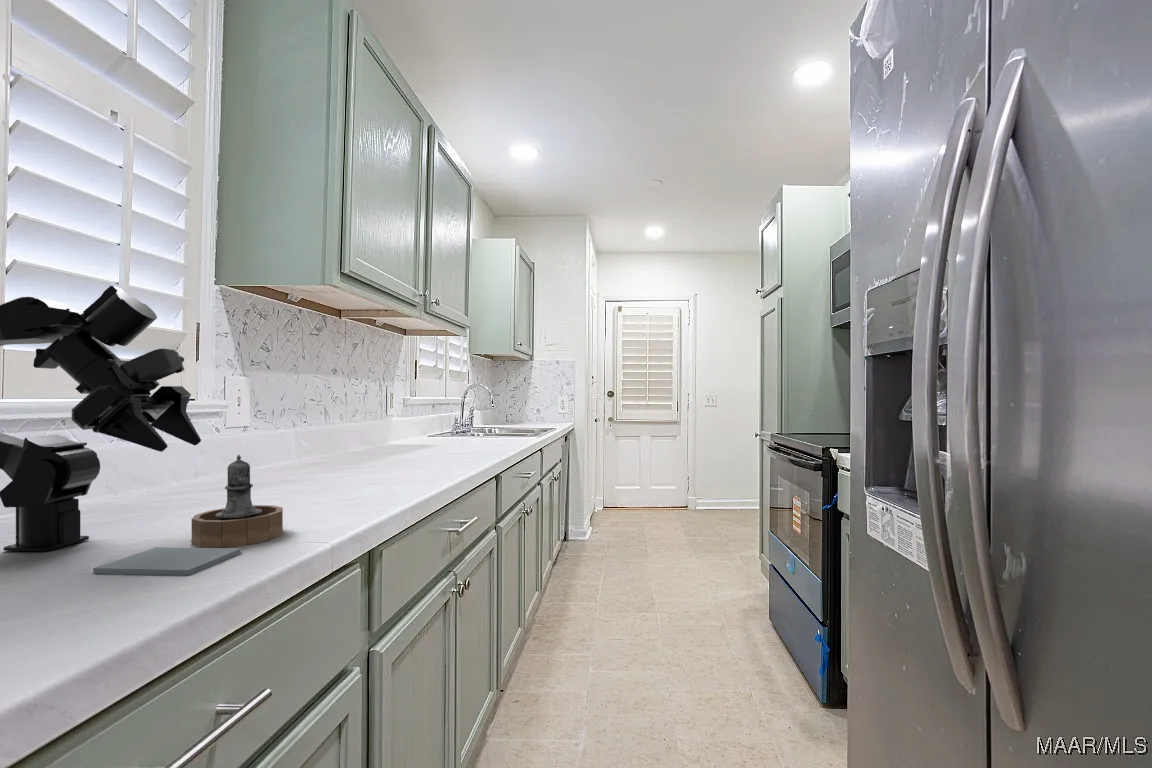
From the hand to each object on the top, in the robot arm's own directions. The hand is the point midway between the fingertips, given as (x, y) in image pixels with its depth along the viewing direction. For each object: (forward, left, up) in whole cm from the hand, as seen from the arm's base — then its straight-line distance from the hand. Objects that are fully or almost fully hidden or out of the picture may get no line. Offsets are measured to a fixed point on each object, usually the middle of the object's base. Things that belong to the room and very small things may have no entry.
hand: (182, 446), depth 83 cm
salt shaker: (+7, +2, -14) cm, 16 cm away
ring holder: (+7, +2, -13) cm, 15 cm away
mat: (+7, -11, -13) cm, 19 cm away
